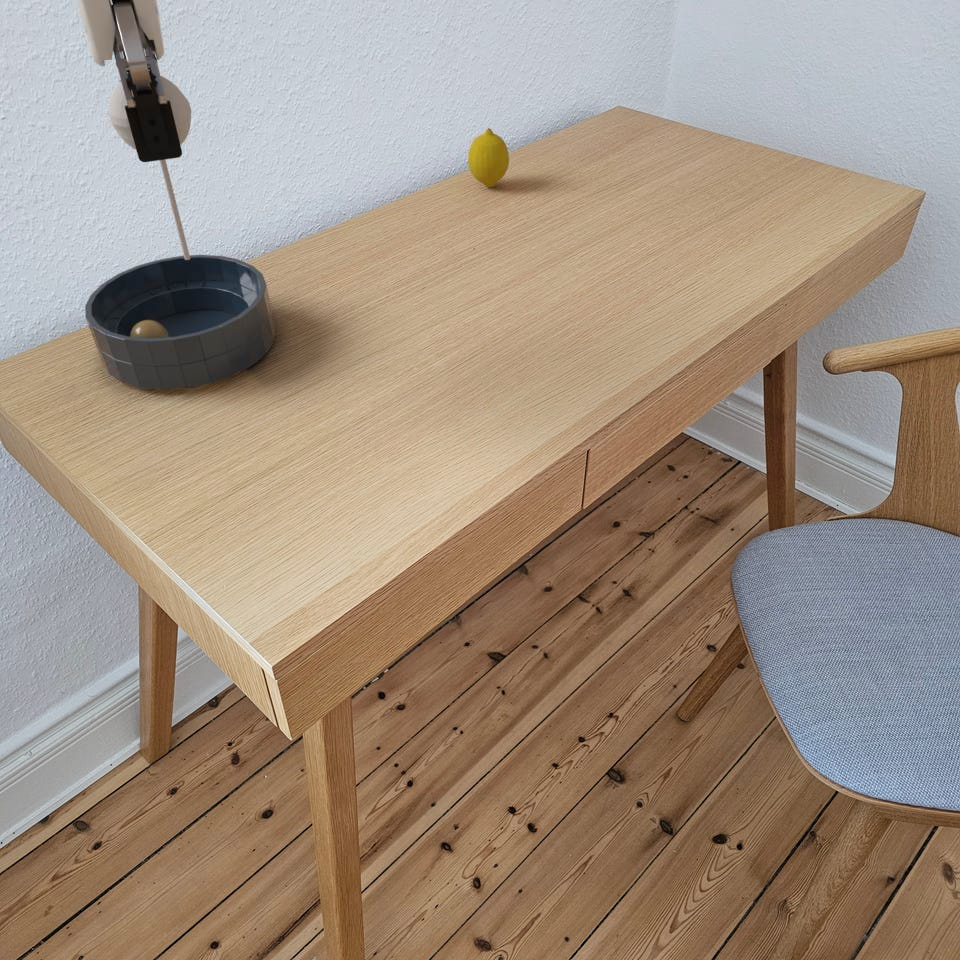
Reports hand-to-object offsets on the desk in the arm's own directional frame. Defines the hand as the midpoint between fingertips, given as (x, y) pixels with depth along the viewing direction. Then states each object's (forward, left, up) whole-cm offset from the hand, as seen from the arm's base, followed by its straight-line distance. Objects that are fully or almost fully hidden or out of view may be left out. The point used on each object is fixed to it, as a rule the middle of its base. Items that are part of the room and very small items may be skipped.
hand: (156, 142), depth 67 cm
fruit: (+41, +35, -23) cm, 59 cm away
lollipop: (0, 0, -10) cm, 10 cm away
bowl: (-2, +8, -23) cm, 25 cm away
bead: (-6, +7, -21) cm, 23 cm away
